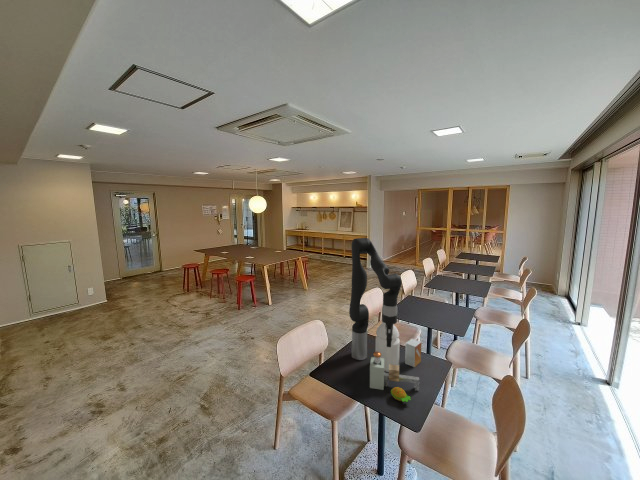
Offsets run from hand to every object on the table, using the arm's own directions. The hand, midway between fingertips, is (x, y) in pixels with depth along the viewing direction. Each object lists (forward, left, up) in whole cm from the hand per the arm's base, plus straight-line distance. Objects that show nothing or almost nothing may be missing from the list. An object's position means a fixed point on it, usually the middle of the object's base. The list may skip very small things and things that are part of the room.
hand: (388, 342), depth 138 cm
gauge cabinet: (-6, 0, -24) cm, 24 cm away
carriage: (+3, 0, -19) cm, 20 cm away
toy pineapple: (+6, -10, -24) cm, 27 cm away
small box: (+14, +24, -24) cm, 37 cm away
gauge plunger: (-6, 0, -16) cm, 17 cm away
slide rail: (+7, 0, -24) cm, 25 cm away
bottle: (-1, +18, -24) cm, 30 cm away
